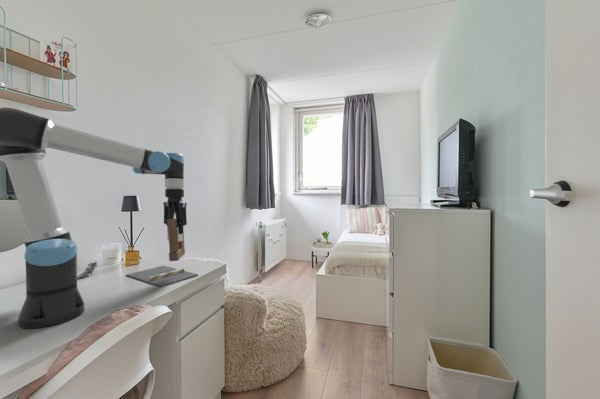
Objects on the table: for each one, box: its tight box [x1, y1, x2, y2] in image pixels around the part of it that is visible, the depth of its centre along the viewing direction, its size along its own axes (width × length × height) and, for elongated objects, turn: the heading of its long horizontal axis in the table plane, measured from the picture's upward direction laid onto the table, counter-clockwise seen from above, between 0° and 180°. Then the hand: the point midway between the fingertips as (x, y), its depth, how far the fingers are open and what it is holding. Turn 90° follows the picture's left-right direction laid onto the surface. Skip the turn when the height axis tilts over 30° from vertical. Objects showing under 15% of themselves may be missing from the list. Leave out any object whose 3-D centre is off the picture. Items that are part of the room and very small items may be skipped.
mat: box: [125, 265, 199, 288], centre depth 125 cm, size 18×28×1 cm, turn 58°
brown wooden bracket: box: [167, 217, 186, 262], centre depth 119 cm, size 4×11×18 cm, turn 8°
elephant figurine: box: [77, 261, 98, 280], centre depth 124 cm, size 10×6×9 cm
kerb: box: [150, 267, 185, 281], centre depth 123 cm, size 16×1×2 cm, turn 148°
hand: (175, 240), depth 120 cm, fingers open, 6 cm apart
